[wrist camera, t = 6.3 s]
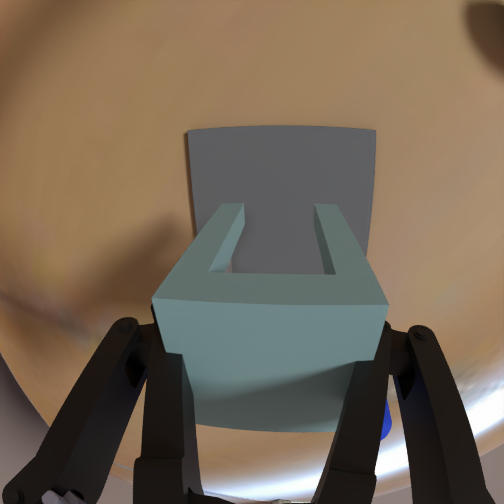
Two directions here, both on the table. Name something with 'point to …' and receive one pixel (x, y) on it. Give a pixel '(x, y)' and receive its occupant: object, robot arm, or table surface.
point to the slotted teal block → (271, 328)
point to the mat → (283, 188)
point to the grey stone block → (280, 502)
